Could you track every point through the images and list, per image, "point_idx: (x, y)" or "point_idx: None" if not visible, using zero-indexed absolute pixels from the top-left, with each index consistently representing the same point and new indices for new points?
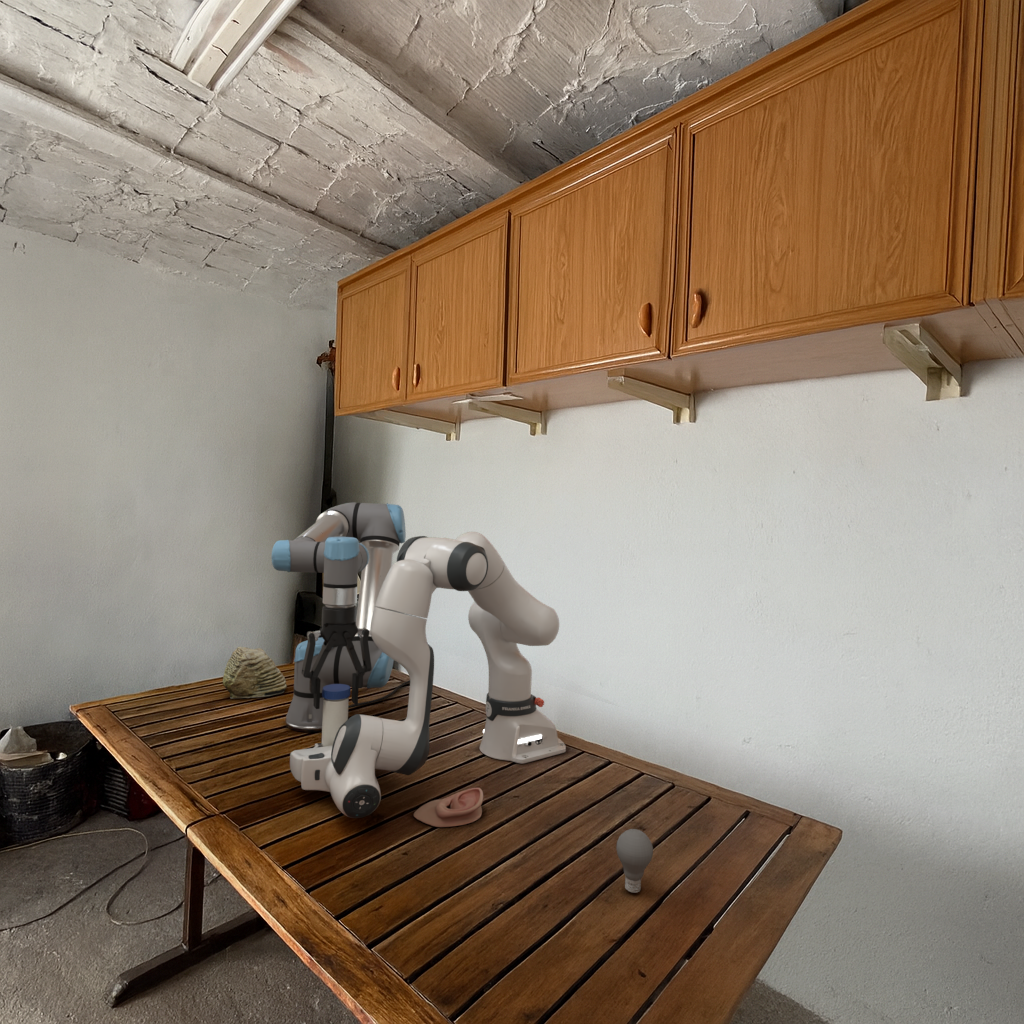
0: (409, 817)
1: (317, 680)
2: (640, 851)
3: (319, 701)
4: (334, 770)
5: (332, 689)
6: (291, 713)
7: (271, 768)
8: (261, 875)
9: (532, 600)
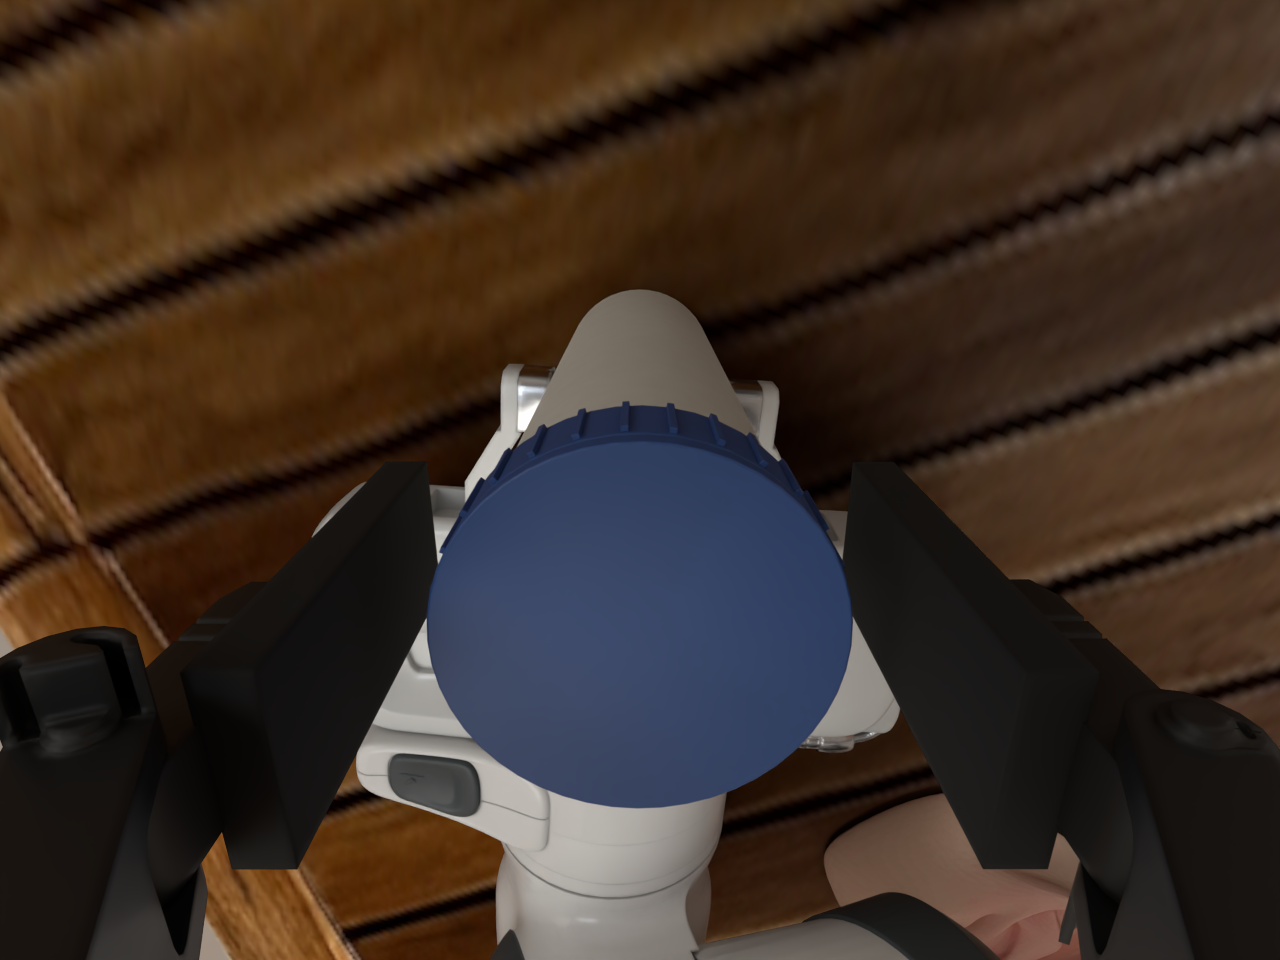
0: (811, 838)
1: (242, 864)
2: None
3: (413, 636)
4: (513, 906)
5: (560, 708)
6: None
7: (306, 101)
8: (282, 944)
9: None
